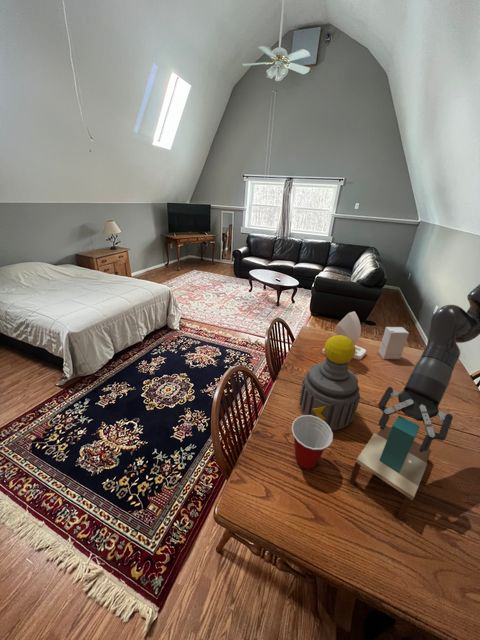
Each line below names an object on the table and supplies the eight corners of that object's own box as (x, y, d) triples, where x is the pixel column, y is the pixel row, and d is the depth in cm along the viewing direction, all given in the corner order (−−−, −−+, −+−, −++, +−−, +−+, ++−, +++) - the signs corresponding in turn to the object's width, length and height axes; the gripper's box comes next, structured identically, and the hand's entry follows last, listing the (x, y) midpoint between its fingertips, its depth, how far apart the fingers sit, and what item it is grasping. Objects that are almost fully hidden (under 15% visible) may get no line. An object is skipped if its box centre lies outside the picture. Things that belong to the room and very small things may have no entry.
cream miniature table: (427, 458, 79) (438, 436, 75) (402, 520, 63) (414, 497, 59) (381, 432, 87) (389, 411, 83) (349, 482, 71) (356, 458, 67)
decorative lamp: (346, 442, 83) (370, 360, 70) (289, 415, 92) (302, 339, 79) (358, 406, 97) (380, 334, 85) (308, 386, 106) (321, 318, 94)
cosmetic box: (394, 353, 133) (403, 326, 126) (400, 360, 127) (410, 332, 121) (377, 352, 133) (385, 325, 126) (383, 359, 127) (391, 331, 121)
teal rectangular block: (404, 461, 67) (420, 426, 62) (398, 473, 64) (414, 437, 59) (385, 449, 70) (398, 415, 65) (379, 460, 67) (392, 425, 62)
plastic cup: (287, 475, 72) (292, 443, 67) (286, 442, 82) (291, 412, 77) (328, 481, 71) (337, 450, 66) (322, 447, 81) (329, 417, 76)
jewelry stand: (338, 340, 143) (348, 296, 132) (368, 351, 133) (381, 305, 123) (315, 358, 126) (324, 309, 115) (347, 372, 116) (360, 320, 106)
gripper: (397, 362, 67) (368, 420, 64) (467, 390, 58) (437, 459, 55) (397, 371, 73) (371, 425, 70) (462, 398, 64) (434, 460, 61)
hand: (400, 440), depth 63 cm, fingers open, 8 cm apart
